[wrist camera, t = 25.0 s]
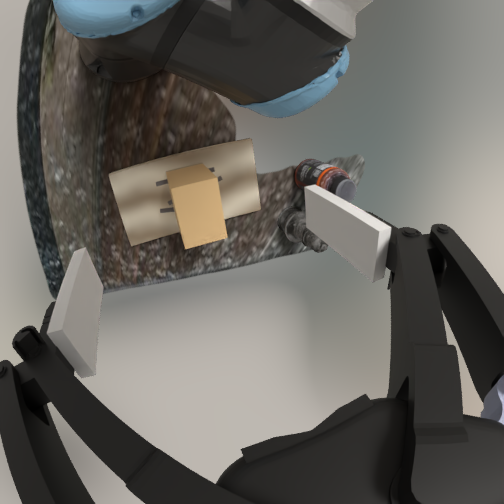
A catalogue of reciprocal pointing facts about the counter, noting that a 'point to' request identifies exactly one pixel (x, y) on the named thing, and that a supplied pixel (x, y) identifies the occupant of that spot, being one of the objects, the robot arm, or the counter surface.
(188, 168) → the block
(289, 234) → the grey chess piece
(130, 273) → the counter surface
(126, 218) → the birch board
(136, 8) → the robot arm
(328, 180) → the supplement bottle
